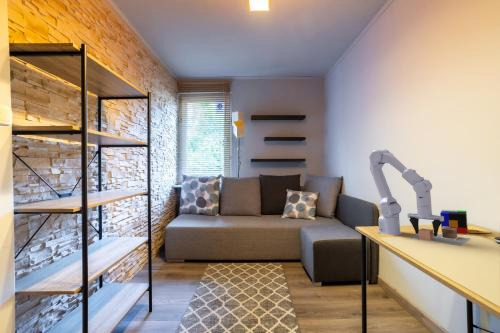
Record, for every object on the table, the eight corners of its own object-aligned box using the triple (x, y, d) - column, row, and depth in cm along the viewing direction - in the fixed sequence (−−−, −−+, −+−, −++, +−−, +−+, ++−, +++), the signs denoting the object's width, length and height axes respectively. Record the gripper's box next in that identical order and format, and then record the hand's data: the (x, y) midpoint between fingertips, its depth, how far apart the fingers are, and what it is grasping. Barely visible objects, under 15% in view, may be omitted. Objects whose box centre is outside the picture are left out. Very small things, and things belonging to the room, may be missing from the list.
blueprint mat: (409, 238, 129) (409, 237, 129) (421, 232, 138) (421, 231, 138) (460, 246, 113) (460, 245, 113) (470, 239, 122) (470, 238, 122)
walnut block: (442, 237, 126) (442, 228, 126) (445, 235, 129) (445, 227, 129) (454, 239, 122) (453, 230, 122) (457, 236, 125) (456, 228, 125)
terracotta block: (419, 238, 127) (418, 230, 127) (422, 236, 129) (422, 228, 129) (429, 240, 123) (429, 231, 123) (433, 238, 126) (433, 229, 126)
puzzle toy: (441, 232, 135) (440, 213, 135) (443, 228, 143) (442, 209, 142) (467, 235, 128) (465, 214, 128) (467, 230, 136) (466, 210, 136)
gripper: (403, 205, 129) (406, 234, 129) (438, 208, 118) (441, 239, 118) (410, 203, 134) (412, 231, 134) (444, 205, 122) (446, 235, 122)
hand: (426, 234), depth 126 cm, fingers open, 7 cm apart
